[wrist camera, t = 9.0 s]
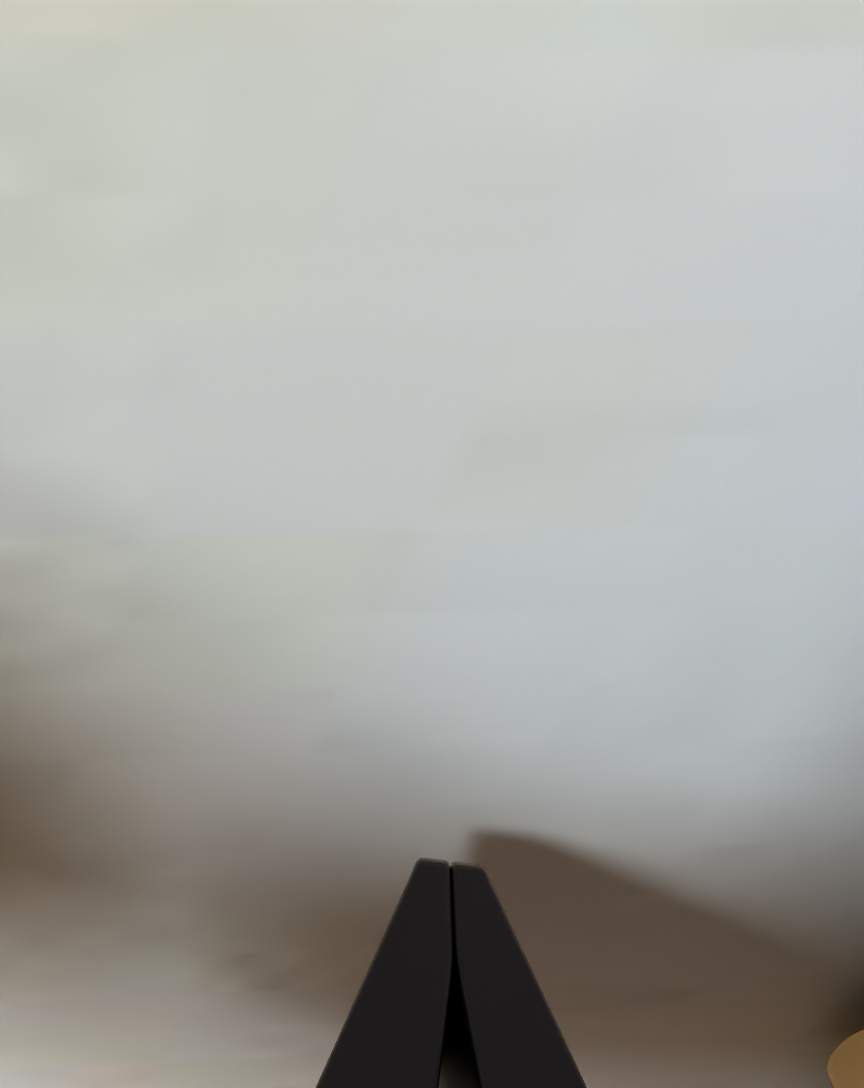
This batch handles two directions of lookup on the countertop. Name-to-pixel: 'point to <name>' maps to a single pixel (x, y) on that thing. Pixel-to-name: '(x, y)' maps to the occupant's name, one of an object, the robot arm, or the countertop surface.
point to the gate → (848, 1063)
